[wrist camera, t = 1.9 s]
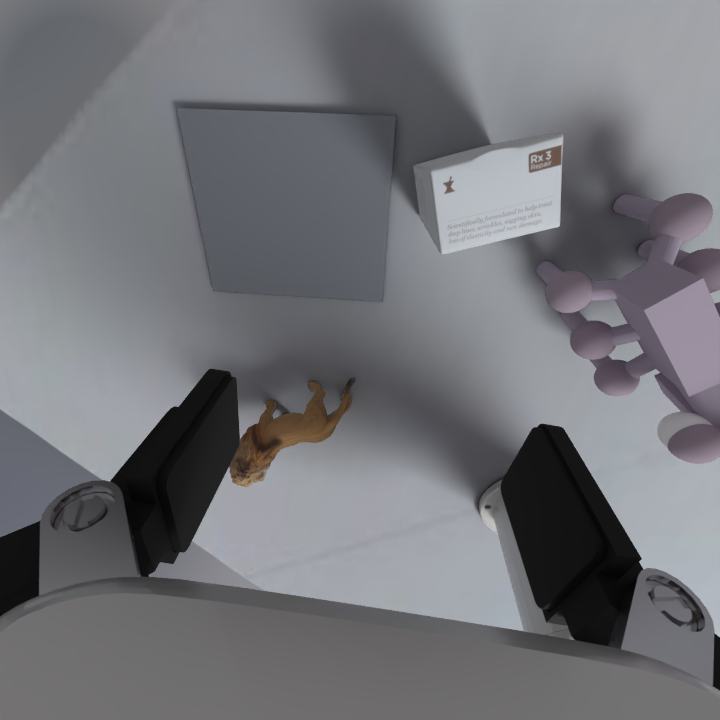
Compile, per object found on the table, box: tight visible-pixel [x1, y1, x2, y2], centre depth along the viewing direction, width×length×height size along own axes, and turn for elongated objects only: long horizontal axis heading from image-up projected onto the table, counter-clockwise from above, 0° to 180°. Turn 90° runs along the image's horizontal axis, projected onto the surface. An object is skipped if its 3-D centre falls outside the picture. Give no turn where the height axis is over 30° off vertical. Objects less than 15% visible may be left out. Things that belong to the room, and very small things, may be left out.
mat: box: [177, 108, 396, 302], centre depth 29 cm, size 16×14×1 cm
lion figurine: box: [229, 377, 355, 487], centre depth 36 cm, size 15×5×9 cm, turn 126°
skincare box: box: [413, 133, 563, 254], centre depth 22 cm, size 6×4×12 cm
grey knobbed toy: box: [536, 193, 720, 464], centre depth 25 cm, size 20×11×14 cm, turn 42°
